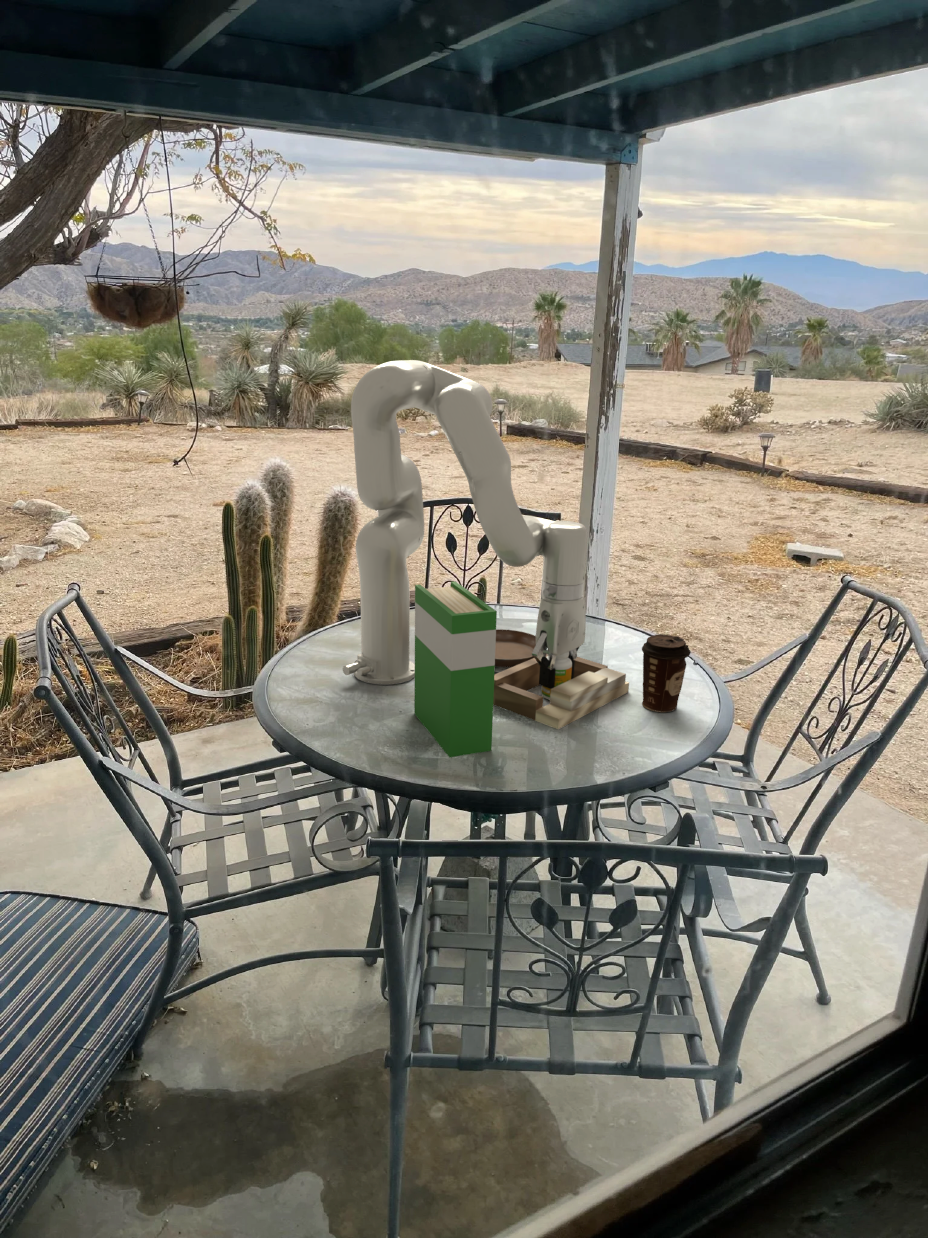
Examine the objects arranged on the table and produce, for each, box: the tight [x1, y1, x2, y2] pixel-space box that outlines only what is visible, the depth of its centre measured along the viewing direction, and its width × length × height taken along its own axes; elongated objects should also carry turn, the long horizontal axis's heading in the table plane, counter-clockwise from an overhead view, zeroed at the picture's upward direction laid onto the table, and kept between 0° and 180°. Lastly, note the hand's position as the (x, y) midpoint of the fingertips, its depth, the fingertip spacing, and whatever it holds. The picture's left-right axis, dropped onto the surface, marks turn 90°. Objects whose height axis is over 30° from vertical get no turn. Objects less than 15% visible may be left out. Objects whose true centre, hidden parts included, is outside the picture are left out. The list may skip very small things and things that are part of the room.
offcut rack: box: [493, 654, 630, 730], centre depth 160 cm, size 23×16×5 cm
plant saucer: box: [495, 628, 536, 668], centre depth 181 cm, size 18×18×3 cm
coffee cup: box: [641, 633, 692, 713], centre depth 156 cm, size 9×8×13 cm
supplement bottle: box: [541, 648, 572, 701], centre depth 159 cm, size 5×5×10 cm
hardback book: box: [413, 581, 498, 758], centre depth 142 cm, size 18×7×24 cm, turn 22°
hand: (556, 681), depth 160 cm, fingers closed on supplement bottle, 5 cm apart
